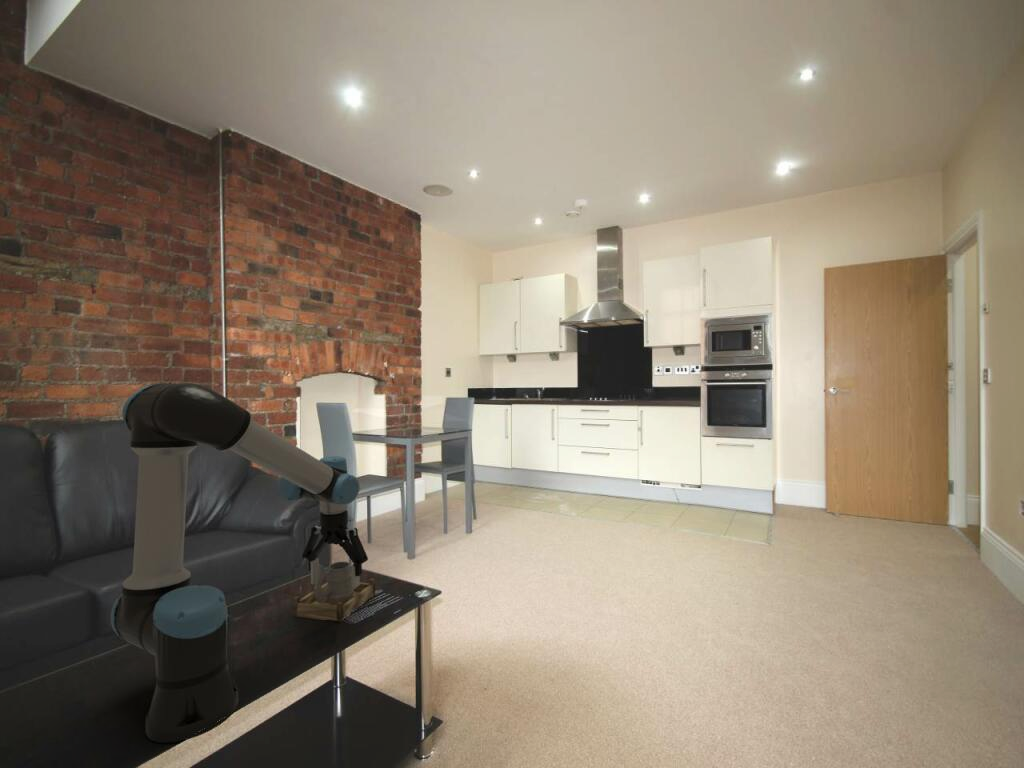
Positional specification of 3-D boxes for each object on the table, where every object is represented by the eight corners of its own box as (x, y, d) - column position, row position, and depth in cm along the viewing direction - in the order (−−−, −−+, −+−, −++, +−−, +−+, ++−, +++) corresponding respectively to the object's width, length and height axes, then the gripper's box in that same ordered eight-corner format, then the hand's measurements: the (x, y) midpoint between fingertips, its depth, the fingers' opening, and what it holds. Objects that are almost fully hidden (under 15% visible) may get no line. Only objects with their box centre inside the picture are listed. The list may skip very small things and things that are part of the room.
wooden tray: (340, 622, 132) (340, 603, 132) (293, 616, 136) (293, 598, 136) (375, 595, 148) (374, 578, 148) (332, 590, 152) (332, 574, 152)
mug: (359, 597, 145) (358, 556, 145) (322, 613, 135) (321, 569, 135) (343, 591, 149) (342, 551, 149) (307, 605, 140) (306, 563, 140)
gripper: (379, 509, 142) (380, 583, 142) (306, 505, 149) (307, 575, 149) (364, 516, 135) (366, 594, 135) (288, 511, 142) (289, 585, 142)
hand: (335, 584), depth 142 cm, fingers open, 13 cm apart
